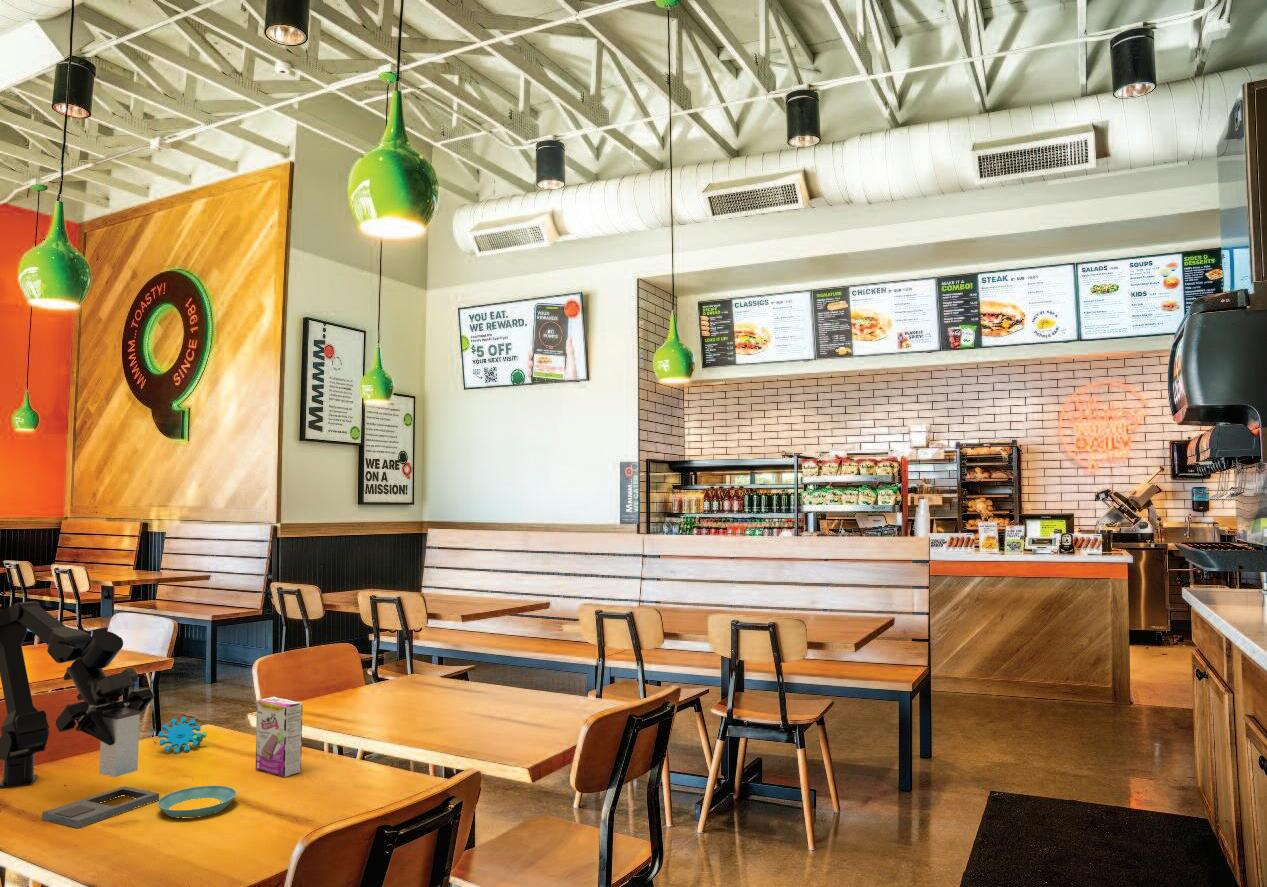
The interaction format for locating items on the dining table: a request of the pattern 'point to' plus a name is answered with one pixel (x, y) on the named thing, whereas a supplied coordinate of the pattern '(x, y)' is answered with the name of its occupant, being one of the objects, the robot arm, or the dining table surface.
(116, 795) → the grey slotted plate
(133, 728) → the grey tall block
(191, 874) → the dining table surface
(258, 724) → the candy bar box
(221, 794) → the saucer
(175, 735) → the gear
